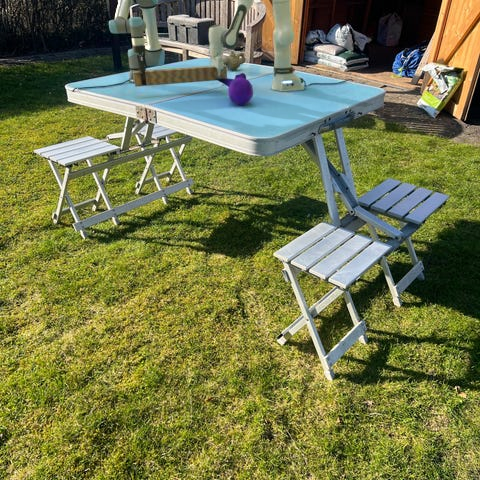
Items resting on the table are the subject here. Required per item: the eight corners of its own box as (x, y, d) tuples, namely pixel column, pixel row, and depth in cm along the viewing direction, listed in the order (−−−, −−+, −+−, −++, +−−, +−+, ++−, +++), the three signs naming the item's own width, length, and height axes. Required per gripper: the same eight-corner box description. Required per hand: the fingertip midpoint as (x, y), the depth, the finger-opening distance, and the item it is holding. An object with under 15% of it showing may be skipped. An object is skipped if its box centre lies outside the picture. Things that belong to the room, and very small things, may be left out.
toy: (238, 95, 290) (253, 110, 269) (212, 91, 282) (225, 106, 262) (244, 71, 282) (260, 84, 261) (218, 65, 274) (232, 78, 254)
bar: (135, 86, 285) (133, 72, 280) (134, 84, 289) (132, 71, 285) (227, 79, 300) (226, 66, 295) (224, 77, 304) (224, 64, 300)
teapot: (225, 72, 363) (224, 52, 355) (218, 70, 371) (218, 50, 364) (248, 69, 372) (247, 50, 364) (241, 67, 381) (240, 48, 373)
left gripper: (146, 46, 270) (151, 86, 281) (143, 42, 285) (147, 80, 297) (134, 47, 268) (139, 87, 280) (131, 43, 283) (136, 81, 295)
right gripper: (225, 54, 284) (226, 76, 291) (217, 50, 301) (218, 71, 308) (215, 54, 283) (216, 77, 290) (208, 50, 299) (209, 72, 306)
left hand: (143, 84), depth 288 cm, fingers closed on bar, 6 cm apart
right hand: (217, 74), depth 299 cm, fingers closed on bar, 5 cm apart
